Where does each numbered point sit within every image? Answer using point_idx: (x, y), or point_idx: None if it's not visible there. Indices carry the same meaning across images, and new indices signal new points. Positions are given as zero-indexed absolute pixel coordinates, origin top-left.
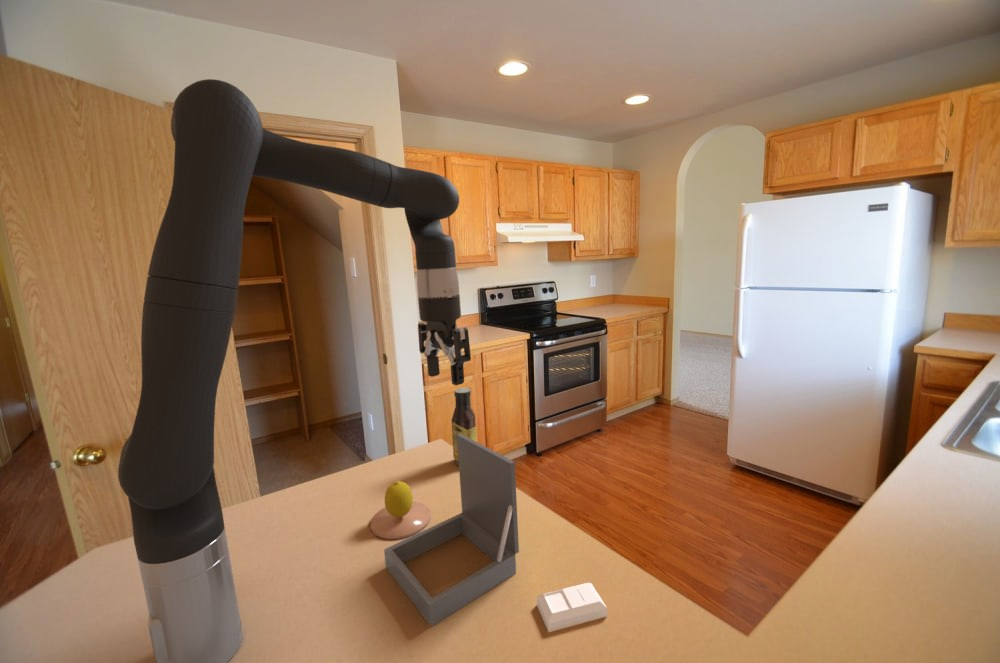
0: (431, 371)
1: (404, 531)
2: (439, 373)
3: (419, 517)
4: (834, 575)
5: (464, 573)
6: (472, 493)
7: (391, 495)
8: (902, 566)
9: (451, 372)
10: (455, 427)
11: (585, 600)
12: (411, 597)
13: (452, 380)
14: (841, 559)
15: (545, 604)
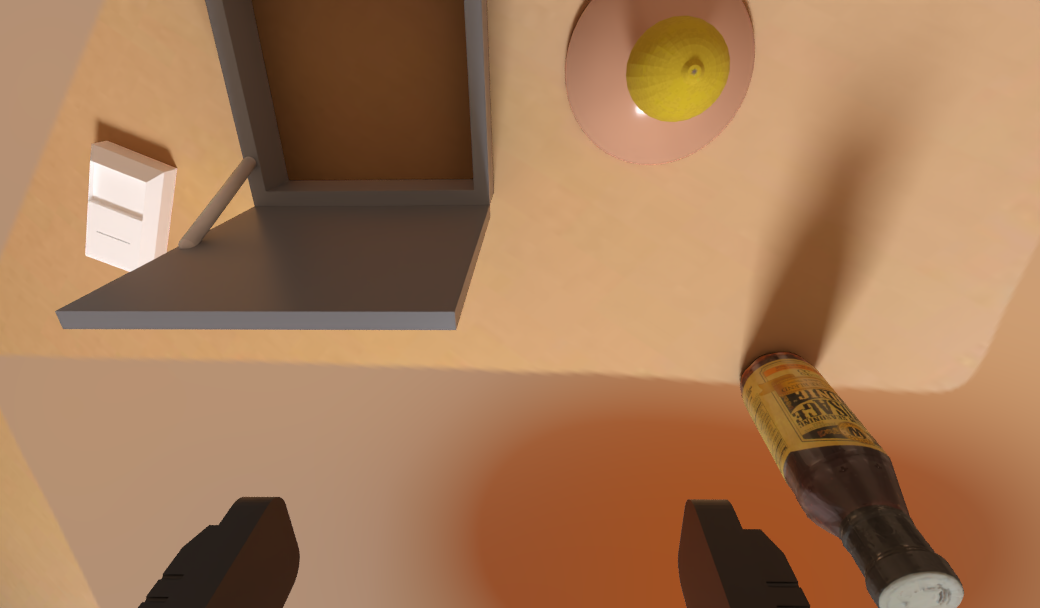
0: (701, 552)
1: (586, 46)
2: (680, 579)
3: (617, 118)
4: (46, 539)
5: (340, 99)
6: (408, 232)
7: (666, 31)
8: (29, 599)
9: (195, 601)
10: (835, 434)
11: (96, 233)
12: None
13: (241, 524)
14: (67, 571)
15: (123, 168)
